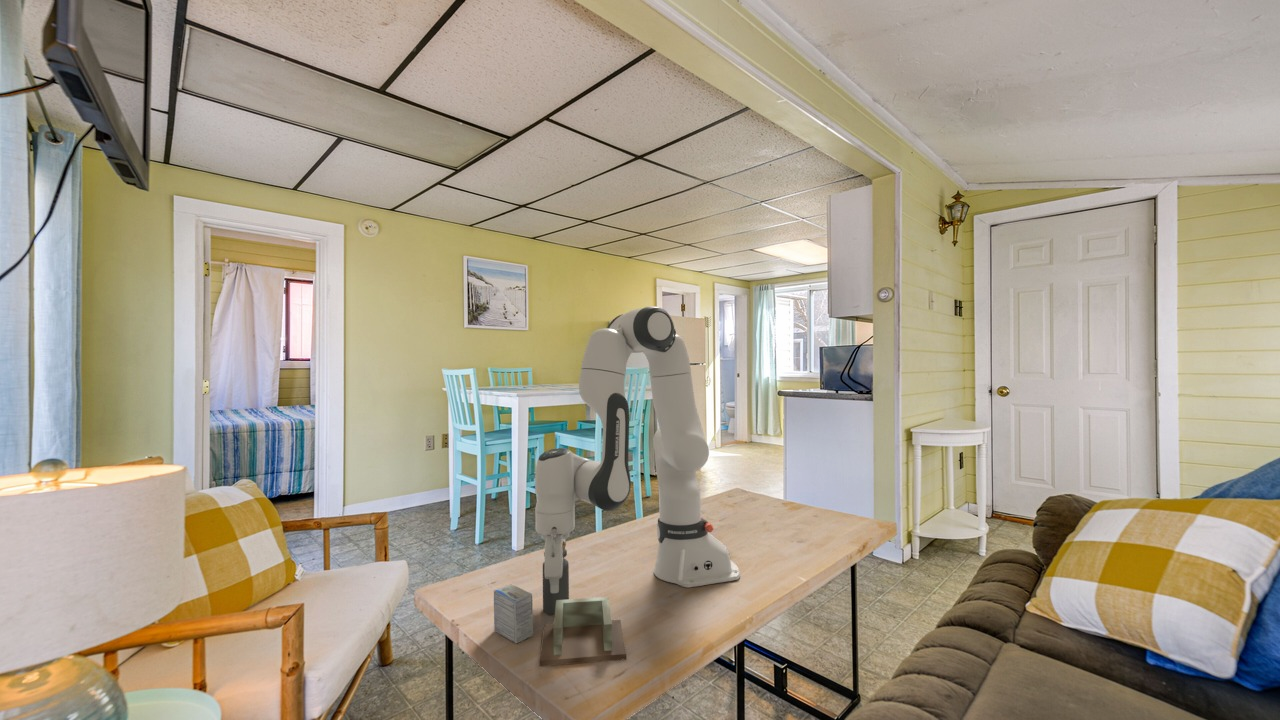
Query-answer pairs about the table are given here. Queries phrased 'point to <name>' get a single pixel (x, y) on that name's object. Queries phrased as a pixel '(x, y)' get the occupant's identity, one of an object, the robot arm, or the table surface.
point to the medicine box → (513, 613)
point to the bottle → (563, 593)
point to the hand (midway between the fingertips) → (555, 582)
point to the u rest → (582, 633)
